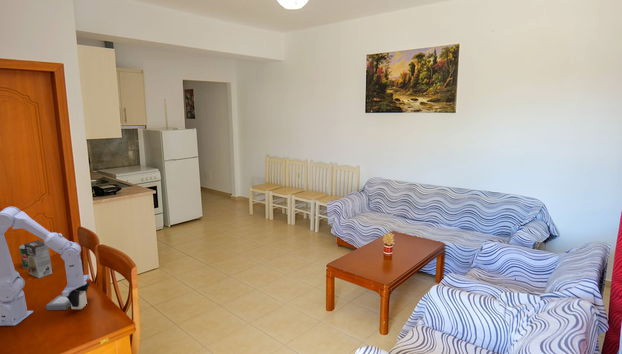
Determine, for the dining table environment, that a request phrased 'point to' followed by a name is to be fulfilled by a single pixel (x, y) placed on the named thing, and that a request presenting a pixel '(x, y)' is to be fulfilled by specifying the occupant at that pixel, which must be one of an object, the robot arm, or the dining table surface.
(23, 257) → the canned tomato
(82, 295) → the cream block
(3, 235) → the robot arm
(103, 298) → the dining table surface
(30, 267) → the coffee box
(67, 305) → the gray base
